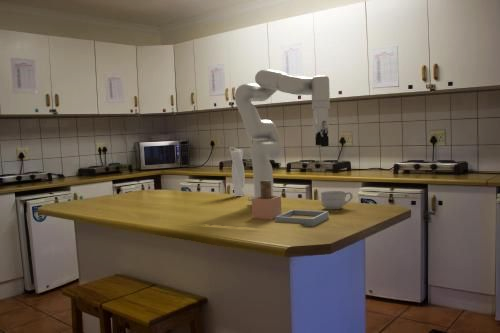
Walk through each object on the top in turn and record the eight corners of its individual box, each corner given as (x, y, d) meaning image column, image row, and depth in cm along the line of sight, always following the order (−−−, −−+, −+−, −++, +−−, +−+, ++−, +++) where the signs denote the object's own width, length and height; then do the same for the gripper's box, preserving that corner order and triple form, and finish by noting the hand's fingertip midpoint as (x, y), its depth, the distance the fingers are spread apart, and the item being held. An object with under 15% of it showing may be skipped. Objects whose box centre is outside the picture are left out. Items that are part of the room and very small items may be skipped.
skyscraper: (233, 197, 263) (230, 147, 261) (230, 195, 270) (227, 146, 268) (247, 196, 265) (244, 146, 263) (243, 194, 272) (241, 146, 270)
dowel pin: (259, 217, 197) (258, 181, 195) (264, 215, 200) (263, 180, 199) (269, 217, 194) (267, 181, 193) (274, 215, 198) (272, 180, 197)
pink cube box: (252, 220, 196) (251, 198, 195) (263, 216, 204) (261, 195, 203) (271, 221, 191) (270, 199, 191) (281, 217, 199) (280, 196, 198)
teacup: (318, 210, 211) (317, 192, 210) (325, 206, 220) (325, 189, 220) (348, 211, 204) (348, 193, 204) (355, 207, 214) (354, 189, 213)
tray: (275, 223, 186) (275, 216, 186) (292, 216, 200) (292, 209, 200) (313, 226, 178) (313, 219, 178) (328, 218, 192) (328, 211, 192)
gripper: (307, 106, 209) (309, 145, 210) (316, 104, 192) (318, 147, 193) (324, 105, 209) (325, 144, 211) (334, 104, 192) (336, 146, 194)
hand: (322, 145), depth 202 cm, fingers open, 9 cm apart
